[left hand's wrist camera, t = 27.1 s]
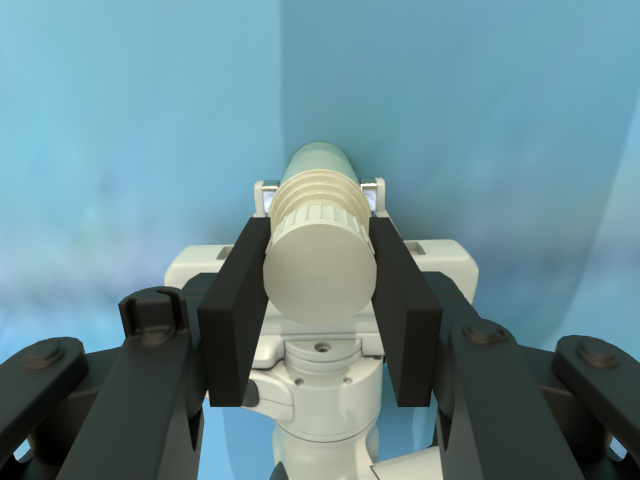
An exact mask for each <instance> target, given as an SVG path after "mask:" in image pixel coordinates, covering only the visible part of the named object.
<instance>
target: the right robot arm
mask: <svg viewBox="0 0 640 480" xmlns="http://www.w3.org/2000/svg"><path fill="white" fill-rule="evenodd" d="M359 183H360V185H361V187H362V189H363V191H364V193H365V195H366V197H367V199H368V202H369V205H370V208H371V211H374V213H375V214H376V216H377V217H389V218H390V216H389V214H388V213H387V211H386V209H385V181H384V180H383V178H359ZM279 184H280V180H269V181H265V180H262V181H257V182H256V183H255V185H254V197H255V208H256V212H255V214H254V216H253V217H265V216H266V214H268V213H269V207H270V204H271V201H272V199H273V196H274V194H275V192H276V190H277V188H278V186H279ZM390 220H391V218H390ZM391 221H392V220H391ZM392 223H393V222H392ZM393 225H394V223H393ZM394 226H395V225H394ZM395 228H396V227H395ZM396 230H397V229H396ZM397 232H398V231H397ZM398 233H399V232H398ZM399 235H400V234H399ZM400 237H401V236H400ZM403 242H404V243H405V245H406V247H407V249H408V250H409V252H410V254H411V255H412V257H413V259H414V260H415V262H416V264H417V266H418V267H419V269H420V271H440V272H442V273H443V274H445V275H446V276H448V277H450V278H451V279H452V280H453V281H454V282H455V284H456V285H457V287H458V288H459V290H460V291H461V292H462V293H463V295H464V297H466V299H467V300H468V301H469V303H470V304H471V306H472V303H473V299H474V295H475V291H476V287H477V282H478V276H479V269H478V266H477V264H476V262H475V261H474V259H473V258H472V257H471V255H470V254H469V253H468V252H467V251H466V250H465V249H464V248H463V247H462V246H461V245H460V244H459V243H457V242H456V241H454V240H449V239H444V240H403ZM233 246H234V245H194V246H189V247H187V248H185V249H184V250H183V251H182V252H181V253H180V254H179V255H178V256H177V257H176V258H175V260H174V261H173V262H172V263H171V265H170V266H169V268H168V269H167V271H166V274H165V277H164V285H165V286H171V287H176V288H180V289H182V288H183V286H184V285H185V284H186V282H187V281H188V280H189V279H191V278H192V277H194V276H195V275H197V274H199V273H200V272H219V270H220V268H221V267H222V265H223V263H224V262H225V260H226V258H227V257H228V255H229V253H230V251H231V250H232V248H233ZM384 363H387V361H386V357H385V353H384V349H383V346H382V342H381V338H380V334H379V330H378V326H377V322H376V318H375V314H374V310H373V306H372V302H371V299H370V301H369V302H368V304H367V305H366V306H365V307H364V308H363V309H362V310H361V311H360V312H359V313H358V314H356V315H355V316H354V317H352V318H350V319H348V320H347V321H344V322H342V323H339V324H335V325H330V326H310V325H305V324H301V323H298V322H296V321H293V320H291V319H290V318H288V317H286V316H285V315H283V314H282V313H281V312H280V311H279V310H278V309H277V308H276V307H275V306H274V305H273V304H272V302H271V301H270V299H269V301H268V305H267V309H266V313H265V317H264V321H263V325H262V329H261V333H260V337H259V341H258V345H257V349H256V352H255V356H254V360H253V364H252V368H251V372H250V376H249V380H248V384H247V388H246V392H245V396H244V400H243V404H242V407H241V408H245V409H248V410H252V411H255V412H258V413H260V414H263V415H266V416H268V417H270V418H272V419H273V422H274V424H275V426H274V430H273V437H272V447H273V457H274V464H275V469H274V471H273V473H272V475H271V477H270V480H443V475H442V467H441V459H440V451H439V443H438V444H437V447H436V446H432V445H430V446H429V447H427V448H426V449H423V450H419V451H415V452H412V453H408V454H405V455H401V456H397V457H394V458H390V459H386V460H383V461H379V462H378V459H379V432H378V427H377V424H376V421H377V418H378V416H379V413H380V409H381V399H382V377H383V364H384ZM205 398H206V399H209V394H208V391H207V393H206V396H205Z"/></svg>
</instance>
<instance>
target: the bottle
mask: <svg viewBox="0 0 640 480" xmlns="http://www.w3.org/2000/svg"><path fill="white" fill-rule="evenodd" d="M319 204H321V205H329V206H332V205H334V207H337V208H340V209H342V210H344V209H345V210H346V212H348V213H349V214H350V215H352V216H353V217H354V216H355V217H356V219H357V221H358V222H359V223H360V224H361V226H362V225H363V226H364V228H365V231H366V234H367V236H368V232H369V217H371V208H370V205H369V202H368V199H367V197H366V195H365V193H364V191H363V189H362V187H361V185H360V183H359V181H358V178H357V176H356V174H355V172H354V170H353V168H352V166H351V164H350V162H349V160H348V158H347V156H346V155H345V153H344V152H343V151H342V150H341V149H340V148H338V147H337V146H335V145H333V144H331V143H328V142H312V143H309V144H306V145H305V146H303V147H301V148H300V149H299V150H298V151H297V152H296V153H295V154H294V156H293V157H292V159H291V161H290V163H289V165H288V167H287V169H286V171H285V174H284V176H283V178H282V180H281V182H280V184H279V186H278V188H277V190H276V192H275V194H274V196H273V199H272V201H271V204H270V207H269V213H268V217H270V218H271V235H273V234H274V231H275V228H276V226H277V225H279V224H280V223H281V222H282V221H283V219H284V217H285V216H286V217H287V216H288V215H289V214H291V213H292V212H294V210H295V209H296V210H298V209H300V208H303V207H306V205H308V206H311V205H319Z"/></svg>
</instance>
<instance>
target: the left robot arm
mask: <svg viewBox="0 0 640 480" xmlns="http://www.w3.org/2000/svg"><path fill="white" fill-rule="evenodd" d="M368 236H369V238H370V241H371V244H372V247H373V249H374V252H375V255H374V258H375V261H376V265H377V274H376V288H375V291H374V293H373V295H372V298H371V302H372V306H373V310H374V314H375V318H376V322H377V326H378V330H379V334H380V338H381V342H382V346H383V349H384V353H385V357H386V361H387V365H388V369H389V373H390V377H391V381H392V385H393V389H394V393H395V397H396V401H397V405H398V407H429V406H430V399H431V392H432V389H433V392H434V395H435V397H436V400H437V402H438V409H437V416H436V422H435V429H434V435H433V442H432V446H436V447H437V444H438V443H439V451H440V459H441V467H442V475H443V480H640V363H639V362H638V361H637V360H635V359H634V358H633V357H631V356H630V355H629V354H627V353H626V352H624V351H623V350H621V349H619V348H618V347H616V346H614V345H612V344H609V343H607V342H605V341H604V340H601V339H598V338H593V337H590V336H579V335H570V336H564V337H562V338H561V339H560V340H559V341H558V342H557V346H556V349H555V352H551V351H545V350H540V349H535V348H530V347H525V346H521V345H518V344H517V342H516V340H515V338H514V337H513V335H512V334H511V333H510V332H509V331H508V330H507V329H505V328H504V327H502V326H501V325H499V324H497V323H495V322H492V321H489V320H487V319H481V318H480V316H479V315H478V314H477V312H476V311H475V310H474V308H473V307H472V306H471V304H470V303H469V301H468V300H467V299H466V297H464V295H463V293H462V292H461V291H460V290H459V288H458V287H457V285H456V284H455V282H454V281H453V280H452V279H451V278H450V277H448V276H446V275H445V274H443V273H442V272H440V271H420V269H419V267H418V266H417V264H416V262H415V260H414V259H413V257H412V255H411V254H410V252H409V250H408V249H407V247H406V245H405V243H404V242H403V240H402V238H401V237H400V235H399V233H398V232H397V230H396V228H395V226H394V225H393V223H392V221H391V220H390V218H389V217H369V232H368ZM270 238H271V218H270V217H251V218H250V219H249V221H248V223H247V224H246V226H245V228H244V229H243V231H242V233H241V235H240V236H239V238H238V240H237V241H236V243H235V245H234V246H233V248H232V250H231V251H230V253H229V255H228V257H227V258H226V260H225V262H224V263H223V265H222V267H221V268H220V270H219V272H200V273H199V274H197V275H195V276H194V277H192V278H191V279H189V280H188V281H187V282H186V284H185V285H184V286H183V288H182V289H180V288H176V287H171V286H158V287H152V288H146V289H143V290H140V291H137V292H134V293H133V294H131V295H129V296H127V297H125V298H124V299H123V300H122V301H121V302H120V303H119V304H118V306H119V310H120V315H121V319H122V323H123V328H124V332H125V337H126V339H125V341H124V343H123V345H122V346H121V347H117V348H113V349H108V350H103V351H98V352H93V353H88V354H85V350H84V347H83V343H82V342H81V341H79V340H78V339H77V338H72V337H58V338H49V339H47V340H46V339H45V340H42V341H39V342H36V343H35V344H33V345H30V346H28V347H26V348H24V349H22V350H21V351H19V352H17V353H16V354H14V355H13V356H11V357H10V358H9V359H7V360H6V361H5V362H4V363H2V364H1V365H0V480H197V476H198V468H199V460H200V452H201V444H202V436H203V428H204V416H203V409H202V404H203V401H204V398H205V396H206V393H207V391H208V394H209V401H210V407H242V404H243V400H244V396H245V392H246V388H247V384H248V380H249V376H250V372H251V368H252V364H253V360H254V356H255V352H256V349H257V345H258V341H259V337H260V333H261V329H262V325H263V321H264V317H265V313H266V309H267V305H268V301H269V298H268V296H267V294H266V291H265V288H264V278H263V265H264V261H265V258H266V254H265V252H266V249H267V246H268V244H269V241H270ZM613 437H615V438H616V439H617V440H618V441H619V442H620V444H621V445H622V446H623V447H624V448H625V449H626V450H627V453H626V456H625V458H624V459H621V458H620V457H619V456H618V455H617V454H616V453H615V452H614V451H613V450H612V449H611V448H610V444H611V442H612V439H613ZM26 438H27V440H28V443H29V445H30V450H29V451H28V452H27V453H26V454H25V455H24V456H23V457H22V458H20V459H19V460H18V461H17V460H16V459H15V457H14V454H13V453H14V451H15V450H16V449H17V448H18V447H19V446H20V445H21V444H22V443H23V442H24V441H25V440H26Z"/></svg>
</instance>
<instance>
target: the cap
mask: <svg viewBox="0 0 640 480" xmlns="http://www.w3.org/2000/svg"><path fill="white" fill-rule="evenodd" d="M265 254H266V258H265V261H264V265H263V278H264V288H265V291H266V294H267V296H268V298H269V299H270V301H271V302H272V304H273V305H274V306H275V307H276V308H277V309H278V310H279V311H280V312H281V313H282V314H283V315H285V316H286V317H288V318H290V319H291V320H293V321H296V322H298V323H301V324H305V325H310V326H330V325H335V324H339V323H342V322H344V321H347V320H348V319H350V318H352V317H354V316H355V315H356V314H358V313H359V312H360V311H361V310H362V309H363V308H364V307H365V306H366V305H367V304H368V302H369V301H370V299H371V298H372V295H373V293H374V291H375V288H376V274H377V265H376V261H375V258H374V255H375V252H374V249H373V247H372V244H371V241H370V238H369V236H367V234H366V231H365V228H364V226H363V225H362V226H361V224H360V223H359V222H358V221H357V219H356V217H355V216H354V217H353V216H352V215H350V214H349V213H348V212H346V210H345V209H344V210H342V209H340V208H337V207H334V205H332V206H329V205H321V204H319V205H311V206H308V205H306V207H303V208H300V209H298V210H296V209H295V210H294V212H292V213H291V214H289V215H288V216H287V217H286V216H285V217H284V219H283V221H282V222H281V223H280V224H279V225H277V226H276V228H275V231H274V234H273V235H271V238H270V241H269V244H268V246H267V249H266V252H265Z"/></svg>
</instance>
